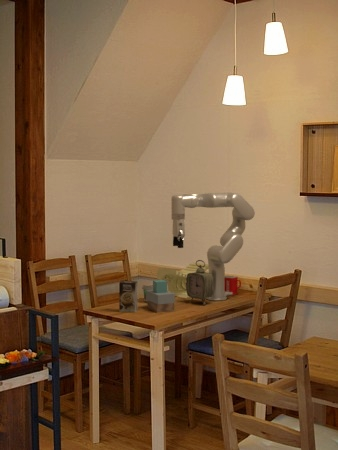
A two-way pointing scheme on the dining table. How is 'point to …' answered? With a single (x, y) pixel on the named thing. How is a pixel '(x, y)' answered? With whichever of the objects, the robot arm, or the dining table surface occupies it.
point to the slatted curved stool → (178, 278)
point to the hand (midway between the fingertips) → (178, 246)
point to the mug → (232, 284)
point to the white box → (160, 297)
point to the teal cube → (159, 286)
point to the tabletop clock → (200, 284)
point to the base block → (160, 307)
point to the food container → (146, 289)
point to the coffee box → (128, 296)
